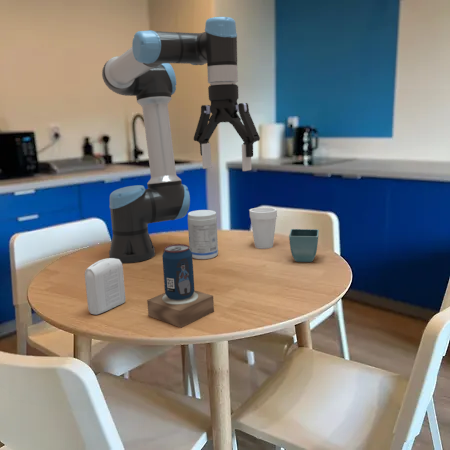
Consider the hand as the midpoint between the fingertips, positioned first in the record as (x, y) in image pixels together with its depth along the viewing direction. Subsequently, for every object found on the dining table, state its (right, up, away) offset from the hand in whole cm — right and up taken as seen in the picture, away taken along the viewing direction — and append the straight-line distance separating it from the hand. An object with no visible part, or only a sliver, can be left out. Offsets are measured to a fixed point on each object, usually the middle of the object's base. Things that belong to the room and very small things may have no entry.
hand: (226, 169), depth 125 cm
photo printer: (-30, -35, -5) cm, 46 cm away
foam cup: (+13, -22, +43) cm, 50 cm away
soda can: (-11, -31, -12) cm, 35 cm away
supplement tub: (-7, -25, +35) cm, 44 cm away
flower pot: (+25, -26, +26) cm, 44 cm away
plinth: (-11, -36, -11) cm, 39 cm away
